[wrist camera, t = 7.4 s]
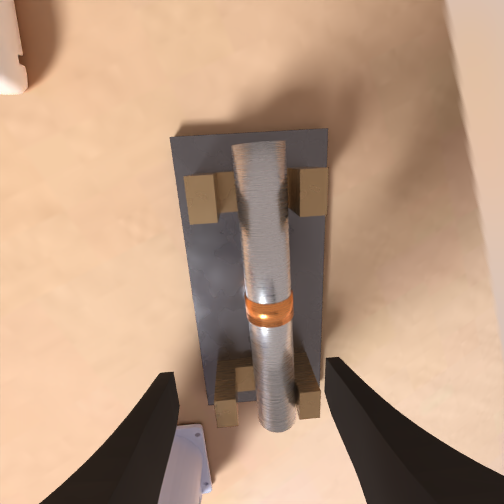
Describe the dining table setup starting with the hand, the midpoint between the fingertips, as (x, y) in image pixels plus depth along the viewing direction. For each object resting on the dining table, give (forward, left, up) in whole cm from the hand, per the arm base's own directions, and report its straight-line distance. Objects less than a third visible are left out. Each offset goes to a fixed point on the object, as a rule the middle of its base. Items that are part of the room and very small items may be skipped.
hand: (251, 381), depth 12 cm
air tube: (+1, -1, -7) cm, 7 cm away
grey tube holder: (+1, -1, -9) cm, 9 cm away
